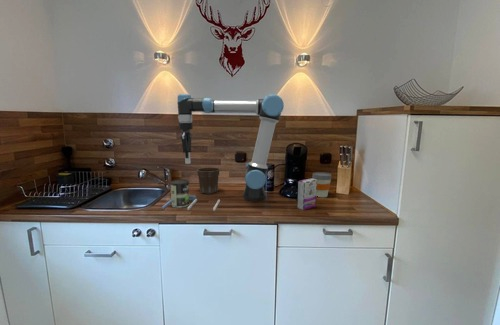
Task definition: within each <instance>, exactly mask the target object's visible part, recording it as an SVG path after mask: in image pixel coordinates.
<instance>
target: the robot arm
mask: <svg viewBox="0 0 500 325" xmlns="http://www.w3.org/2000/svg"><path fill="white" fill-rule="evenodd" d="M284 106H285V104H284V100H283V99H282V97H280V95H278V94H274V93H273V94H268V95H266V96H264V98H258V99H256V100H225V99H224V100H223V99H222V100H220V99H217V100H215V99H213V98H211V97H198V98H197V97H196V98H194V97H192V95H191V94H187V93H186V94H184V93H181V94H178V95H177V111H178V112H177V113H178V114H177V115H178V116H177V119H178V122H179V123H178V129H179V130H182V131H181V132H182V133H181V135H180V139H181V146H182V153H183V154H184V162H185V165H186V164H187V165H189V164H191V162H192V161H191V152H192V136H193V135H192V134H191V130H193V129H194V126H193V113H195V112H197V113H205V114H211V113H215V114H217V113H219V114H255V115H257V116H258V117H259V120H260V122H259V128H258V131H257V132H258V133H257V136H256V137H257V138H256V141H255V144H254V145H255V146H254V150H253V154H252V157H251V158H252V159H251V161H249V162H247V163H246V164H245V175H244V176H245V178H244V181H245V187H244V190H243V194H242V199H244V200H246V201H250V202H258V201H264V200H266V198H267V194H266V190H265V184H266V183H267V182H266V181H267V173H268V168H269V167H268V165H267V163H268V158H269V153H270V149H271V144H272V140H273V136H274V132H275V128H276V125H277V123H279V122H280V118H281V114H282V112H283V111H284Z"/></svg>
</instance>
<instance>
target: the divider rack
mask: <svg viewBox="0 0 500 325" xmlns="http://www.w3.org/2000/svg"><path fill="white" fill-rule="evenodd" d="M189 201H192V202H191V203H189V205H188V206H187V207H186V208H187V211H190V210H191V208H193V206H194V205H195V204H196V203H197V201H198V199H197V196H196V195H189ZM220 203H221V199H217V201H216V203H215V205H214V206H213V208H212V212H213V211H214V212H215V211H216V209H217V208H218V205H219V204H220ZM170 204H172V201H171V199H170V200H168V201H167V202H166V203H165V204H163V205H162V206H161V210H165V209H166V208H167V207H168V206H169V205H170Z"/></svg>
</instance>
